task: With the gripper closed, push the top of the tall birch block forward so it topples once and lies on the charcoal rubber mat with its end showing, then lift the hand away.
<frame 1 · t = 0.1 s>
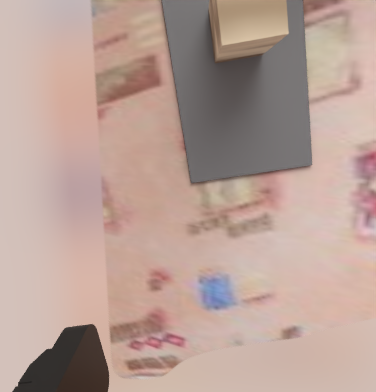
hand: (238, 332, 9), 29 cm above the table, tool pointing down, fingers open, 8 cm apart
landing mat: (240, 84, 34), on the table
birch block: (235, 33, 33), resting on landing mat
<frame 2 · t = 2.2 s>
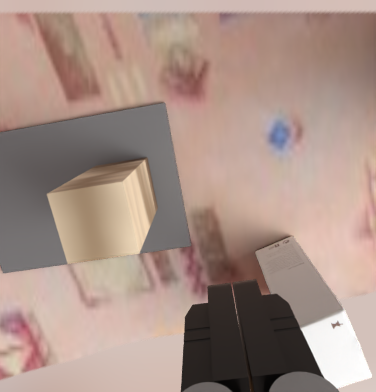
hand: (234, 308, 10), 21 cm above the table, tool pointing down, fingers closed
skincare box: (283, 266, 33), on the table
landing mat: (78, 194, 31), on the table
birch block: (127, 187, 30), resting on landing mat
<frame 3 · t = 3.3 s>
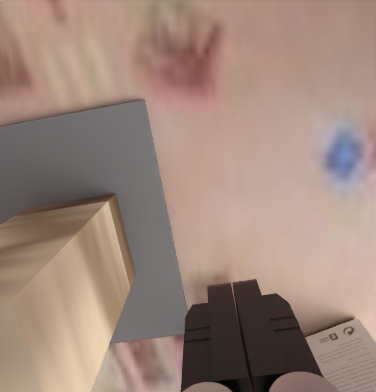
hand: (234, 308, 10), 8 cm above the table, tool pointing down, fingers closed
skincare box: (338, 361, 20), on the table
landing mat: (5, 251, 19), on the table
birch block: (83, 241, 18), resting on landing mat
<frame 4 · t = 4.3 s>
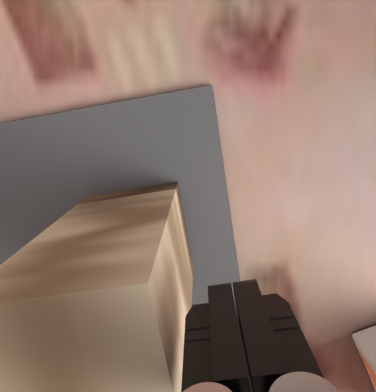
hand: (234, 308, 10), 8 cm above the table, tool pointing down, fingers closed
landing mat: (58, 242, 18), on the table
birch block: (141, 232, 18), resting on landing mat, touching gripper
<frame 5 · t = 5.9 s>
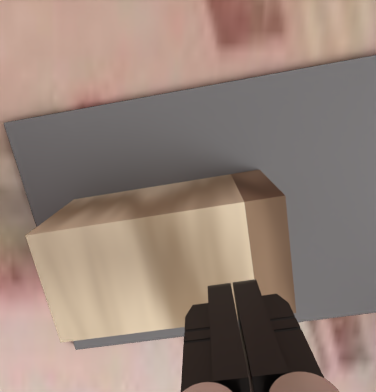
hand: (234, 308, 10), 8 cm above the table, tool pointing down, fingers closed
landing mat: (218, 219, 18), on the table
birch block: (275, 232, 15), point 3 cm above the table, tilted 90°, touching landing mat
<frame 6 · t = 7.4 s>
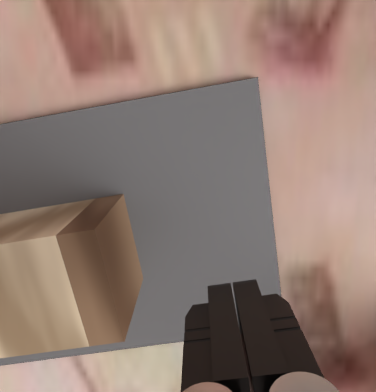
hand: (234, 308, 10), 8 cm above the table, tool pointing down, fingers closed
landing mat: (91, 241, 18), on the table
birch block: (124, 259, 15), point 3 cm above the table, tilted 90°, touching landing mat
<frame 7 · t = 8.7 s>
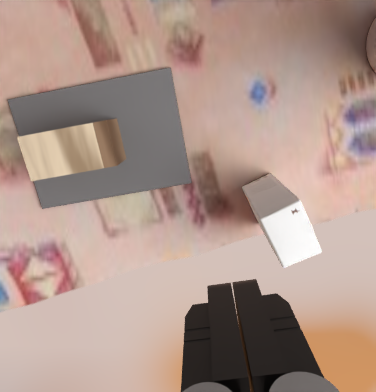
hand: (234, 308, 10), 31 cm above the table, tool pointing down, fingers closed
skincare box: (264, 199, 42), on the table
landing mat: (103, 142, 40), on the table
birch block: (117, 141, 37), point 3 cm above the table, tilted 90°, touching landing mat
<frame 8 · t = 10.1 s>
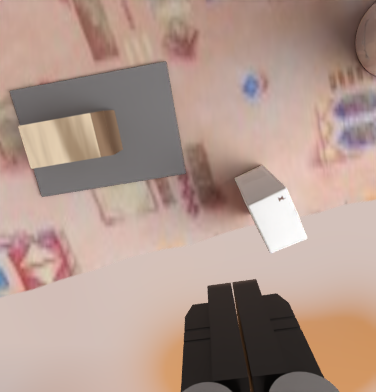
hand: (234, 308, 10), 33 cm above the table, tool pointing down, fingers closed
skincare box: (256, 190, 43), on the table
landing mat: (101, 133, 41), on the table
birch block: (113, 131, 38), point 3 cm above the table, tilted 90°, touching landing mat
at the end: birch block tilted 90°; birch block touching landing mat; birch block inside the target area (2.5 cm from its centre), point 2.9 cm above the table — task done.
